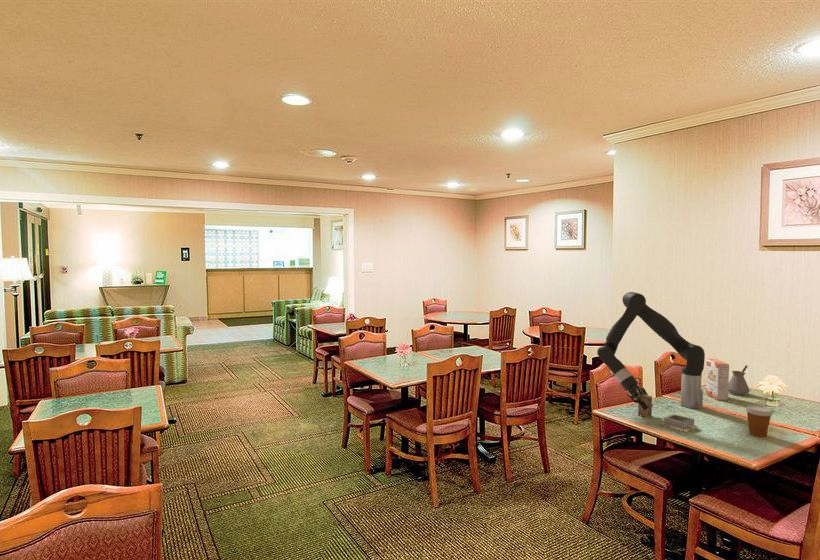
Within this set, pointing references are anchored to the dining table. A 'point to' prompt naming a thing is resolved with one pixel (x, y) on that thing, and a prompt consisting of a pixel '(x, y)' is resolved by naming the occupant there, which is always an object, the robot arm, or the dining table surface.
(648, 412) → the block
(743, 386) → the coffee pot
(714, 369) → the cracker box
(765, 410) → the disposable coffee cup
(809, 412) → the dining table surface
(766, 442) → the dining table surface
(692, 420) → the gray square tray
